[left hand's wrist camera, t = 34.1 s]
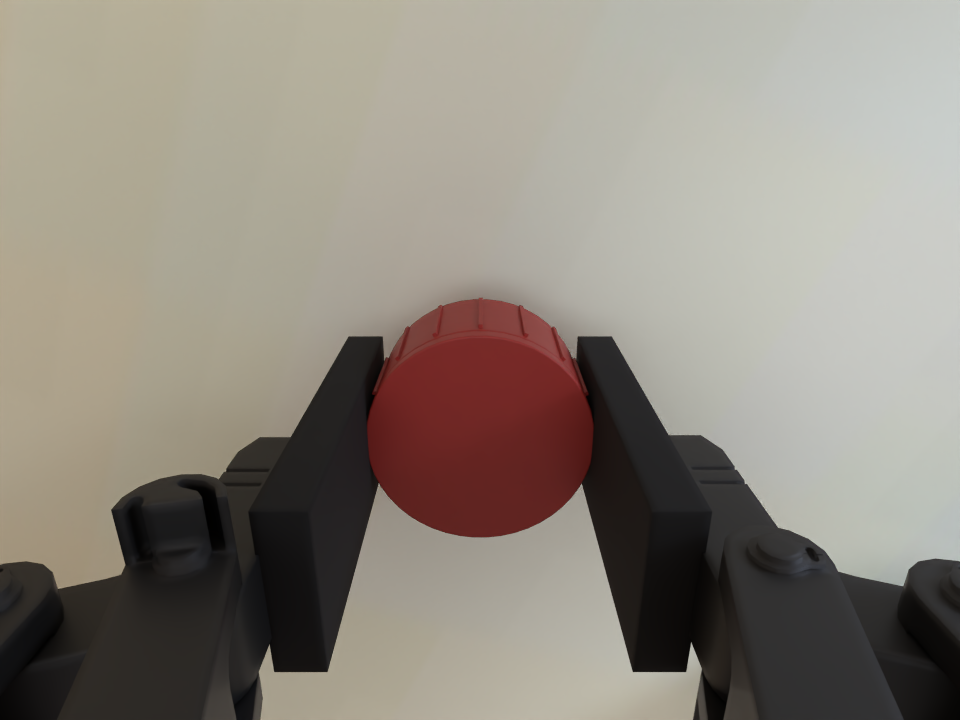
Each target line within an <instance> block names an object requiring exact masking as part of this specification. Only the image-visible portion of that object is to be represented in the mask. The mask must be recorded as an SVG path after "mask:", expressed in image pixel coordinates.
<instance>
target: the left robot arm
mask: <svg viewBox="0 0 960 720" xmlns="http://www.w3.org/2000/svg"><path fill="white" fill-rule="evenodd" d="M576 362H577V364H578V367H579V370H580V372H581V375H582V378H583V381H584V383H585V386H586V389H587V391H588V394H589V395H587V396H586V398H587V401H588V404H589V406H590V409H591V413H592V417H593V422H594V429H593V443H592V455H591V464H590V466H589V469H588V471H587V474H586V476H585V478H584V480H583V481H582V485H583V489H584V493H585V497H586V500H587V504H588V508H589V511H590V515H591V519H592V522H593V526H594V530H595V533H596V537H597V541H598V545H599V548H600V552H601V556H602V559H603V563H604V567H605V570H606V574H607V578H608V582H609V585H610V589H611V593H612V596H613V600H614V604H615V607H616V611H617V615H618V618H619V622H620V626H621V630H622V633H623V637H624V641H625V644H626V648H627V652H628V655H629V659H630V663H631V667H632V670H633V672H686V670H687V664H688V657H689V651H690V645H691V642H692V645H693V647H694V650H695V652H696V655H697V657H698V660H699V662H700V665H701V667H702V672H701V677H700V683H699V689H698V694H697V700H696V706H695V711H694V717H693V720H960V562H959V561H952V560H943V559H931V560H925V561H919V562H917V563H916V564H915V565H914V566H913V567H911V568H910V569H909V571H908V574H907V577H906V580H905V584H904V587H903V586H898V585H893V584H889V583H884V582H879V581H874V580H869V579H865V578H860V577H855V576H852V575H848V574H844V573H841V572H838V571H837V569H836V566H835V564H834V563H833V562H832V560H831V559H830V558H829V556H828V555H827V553H826V552H825V551H824V550H823V549H821V548H820V547H819V546H817V545H816V544H814V543H813V542H812V541H810V540H809V539H807V538H805V537H803V536H800V535H798V534H796V533H793V532H791V531H789V530H785V529H781V528H778V527H777V526H776V524H775V523H774V522H773V520H772V519H771V517H770V516H769V515H768V513H767V512H766V510H765V509H764V508H763V506H762V505H761V503H760V502H759V500H758V499H757V498H756V496H755V495H754V493H753V492H752V491H751V489H750V488H749V486H748V485H747V484H745V483H744V479H743V478H742V477H741V475H740V474H739V472H738V471H737V470H735V469H734V465H733V464H732V462H731V461H730V460H729V458H728V457H727V455H726V454H725V453H724V451H723V450H722V449H721V448H719V447H718V446H716V445H715V444H713V443H712V442H710V441H709V440H707V439H706V438H704V437H703V436H701V435H668V434H667V432H666V430H665V428H664V427H663V425H662V423H661V421H660V420H659V418H658V416H657V414H656V413H655V411H654V409H653V407H652V406H651V404H650V402H649V401H648V399H647V397H646V395H645V394H644V392H643V390H642V388H641V387H640V385H639V383H638V381H637V380H636V378H635V376H634V374H633V373H632V371H631V369H630V367H629V366H628V364H627V362H626V361H625V359H624V357H623V355H622V354H621V352H620V350H619V348H618V347H617V345H616V343H615V341H614V340H613V338H612V337H578V341H577V358H576ZM383 364H384V351H383V337H348V339H347V340H346V342H345V344H344V346H343V347H342V349H341V351H340V353H339V354H338V356H337V358H336V360H335V361H334V363H333V365H332V367H331V368H330V370H329V372H328V373H327V375H326V377H325V379H324V380H323V382H322V384H321V386H320V387H319V389H318V391H317V393H316V394H315V396H314V398H313V400H312V401H311V403H310V405H309V407H308V408H307V410H306V412H305V413H304V415H303V417H302V419H301V420H300V422H299V424H298V426H297V427H296V429H295V431H294V433H293V434H292V436H291V437H260V438H258V439H257V440H255V441H254V442H252V443H251V444H249V445H248V446H246V447H245V448H243V449H242V450H240V451H239V452H238V453H237V454H236V456H235V457H234V459H233V460H232V461H231V463H230V464H229V466H228V467H227V469H226V472H224V473H223V474H222V476H221V477H220V479H219V480H218V479H217V478H214V477H210V476H206V475H202V474H185V475H177V476H172V477H167V478H162V479H158V480H156V481H153V482H151V483H148V484H145V485H143V486H140V487H138V488H137V489H135V490H133V491H132V492H130V493H129V494H127V495H125V496H124V497H122V498H121V499H120V501H119V502H118V503H117V504H116V505H115V506H114V507H113V508H112V510H111V511H112V515H113V519H114V522H115V526H116V530H117V534H118V538H119V542H120V545H121V549H122V553H123V557H124V561H125V568H124V570H123V572H122V574H121V575H119V576H115V577H112V578H108V579H104V580H99V581H95V582H90V583H85V584H80V585H76V586H71V587H66V588H61V589H58V588H57V585H56V582H55V579H54V576H53V572H51V571H50V570H49V569H48V568H47V567H46V566H44V565H43V564H38V563H32V562H16V563H7V564H2V565H0V720H260V717H261V709H262V700H263V697H262V690H261V683H260V677H259V669H260V667H261V664H262V662H263V659H264V657H265V654H266V652H267V649H268V646H269V644H270V649H271V655H272V661H273V667H274V672H328V668H329V664H330V661H331V657H332V653H333V650H334V646H335V642H336V639H337V635H338V631H339V627H340V624H341V620H342V616H343V613H344V609H345V605H346V602H347V598H348V594H349V591H350V587H351V583H352V579H353V576H354V572H355V568H356V565H357V561H358V557H359V554H360V550H361V546H362V542H363V539H364V535H365V531H366V528H367V524H368V520H369V517H370V513H371V509H372V505H373V502H374V498H375V494H376V491H377V487H378V483H379V482H378V480H377V478H376V477H375V475H374V472H373V470H372V467H371V464H370V460H369V448H368V435H367V419H368V415H369V410H370V407H371V405H372V402H373V399H374V397H375V395H372V393H373V390H374V388H375V385H376V382H377V380H378V377H379V375H380V372H381V369H382V367H383Z"/></svg>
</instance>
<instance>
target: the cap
mask: <svg viewBox="0 0 960 720" xmlns="http://www.w3.org/2000/svg"><path fill="white" fill-rule="evenodd" d="M372 395H375V397H374V399H373V402H372V405H371V407H370V410H369V415H368V419H367V435H368V448H369V460H370V464H371V467H372V470H373V472H374V475H375V477H376V478H377V480H378V482H379V484H380V486H381V487H382V489H383V490H384V491H385V493H386V494H387V495H388V497H389V498H390V499H391V500H392V501H393V502H394V503H395V504H396V505H397V506H398V507H399V508H400V509H402V510H403V511H404V512H405V513H407V514H408V515H409V516H411V517H412V518H414V519H416V520H417V521H419V522H421V523H423V524H425V525H427V526H429V527H431V528H433V529H436V530H439V531H442V532H445V533H449V534H454V535H458V536H466V537H495V536H502V535H507V534H512V533H516V532H519V531H522V530H525V529H528V528H530V527H532V526H534V525H536V524H538V523H540V522H542V521H544V520H545V519H547V518H548V517H550V516H552V515H553V514H554V513H555V512H557V511H558V510H559V509H560V508H562V507H563V506H564V505H565V504H566V503H567V502H568V501H569V500H570V499H571V497H572V496H573V495H574V493H575V492H576V491H577V489H578V488H579V487H580V485H581V483H582V481H583V480H584V478H585V476H586V474H587V471H588V469H589V466H590V464H591V455H592V443H593V429H594V422H593V417H592V413H591V409H590V406H589V404H588V401H587V398H586V396H587V395H589V394H588V391H587V389H586V386H585V383H584V381H583V378H582V375H581V372H580V370H579V367H578V364H577V362H576V359H575V358H573V359H572V357H571V354H570V352H569V350H568V349H567V347H566V345H565V343H564V342H563V340H562V339H561V338H560V336H559V335H558V334H557V331H556V328H555V327H552V328H551V327H550V326H549V325H548V324H547V323H546V322H545V321H543V320H542V319H541V318H539V317H538V316H537V315H535V314H533V313H531V312H530V311H528V310H526V309H523V306H521V305H519V306H516V305H514V304H510V303H506V302H502V301H496V300H488V299H483V298H479V299H473V300H465V301H459V302H455V303H451V304H447V305H445V306H442V305H440V306H438V308H437V309H435V310H433V311H431V312H430V313H428V314H426V315H424V316H423V317H421V318H420V319H419V320H417V321H416V322H415V323H414V324H413V325H411V326H410V327H408V326H407V327H406V328H405V331H404V334H403V335H402V336H401V338H400V339H399V340H398V342H397V343H396V345H395V347H394V348H393V350H392V352H391V354H390V357H389V358H387V357H386V359H385V362H384V364H383V367H382V369H381V372H380V375H379V377H378V380H377V382H376V385H375V388H374V390H373V393H372Z"/></svg>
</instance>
